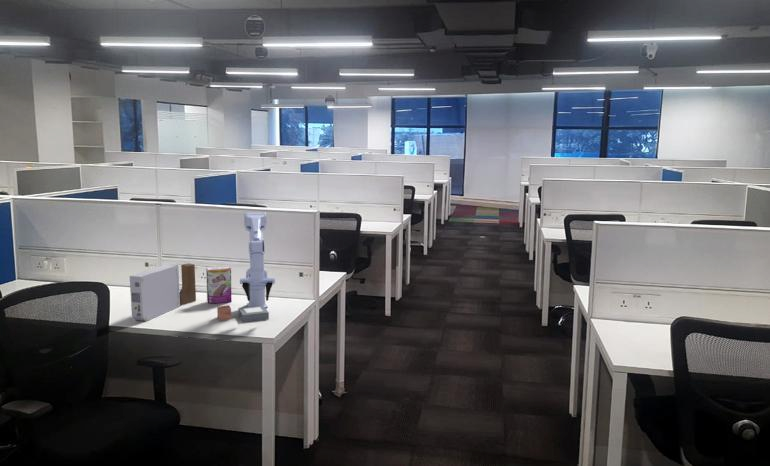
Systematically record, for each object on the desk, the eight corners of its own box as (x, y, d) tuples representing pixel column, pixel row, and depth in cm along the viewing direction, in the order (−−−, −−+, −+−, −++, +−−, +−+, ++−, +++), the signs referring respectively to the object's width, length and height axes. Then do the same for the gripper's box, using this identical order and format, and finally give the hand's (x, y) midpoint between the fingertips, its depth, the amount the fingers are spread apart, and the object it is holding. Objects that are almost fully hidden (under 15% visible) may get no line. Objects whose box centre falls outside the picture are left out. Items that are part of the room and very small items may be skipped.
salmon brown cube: (217, 317, 264) (217, 306, 263) (229, 316, 266) (228, 305, 265) (219, 320, 259) (218, 309, 259) (231, 319, 261) (230, 308, 261)
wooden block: (181, 305, 282) (179, 267, 280) (174, 303, 285) (172, 266, 282) (196, 301, 290) (194, 264, 287) (190, 299, 292) (188, 263, 290)
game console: (182, 306, 281) (180, 264, 278) (143, 323, 255) (141, 276, 252) (171, 305, 282) (169, 263, 279) (132, 321, 257) (129, 275, 254)
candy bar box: (207, 304, 284) (206, 270, 282) (206, 301, 289) (205, 268, 287) (232, 302, 288) (231, 268, 286) (230, 299, 293) (229, 266, 291)
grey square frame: (238, 315, 267) (238, 308, 267) (263, 312, 272) (263, 305, 271) (243, 321, 257) (242, 314, 257) (268, 319, 262) (268, 311, 261)
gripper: (238, 270, 250) (239, 302, 252) (273, 270, 250) (274, 302, 253) (241, 267, 257) (242, 298, 259) (275, 267, 257) (276, 298, 260)
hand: (258, 300), depth 256 cm, fingers open, 7 cm apart
